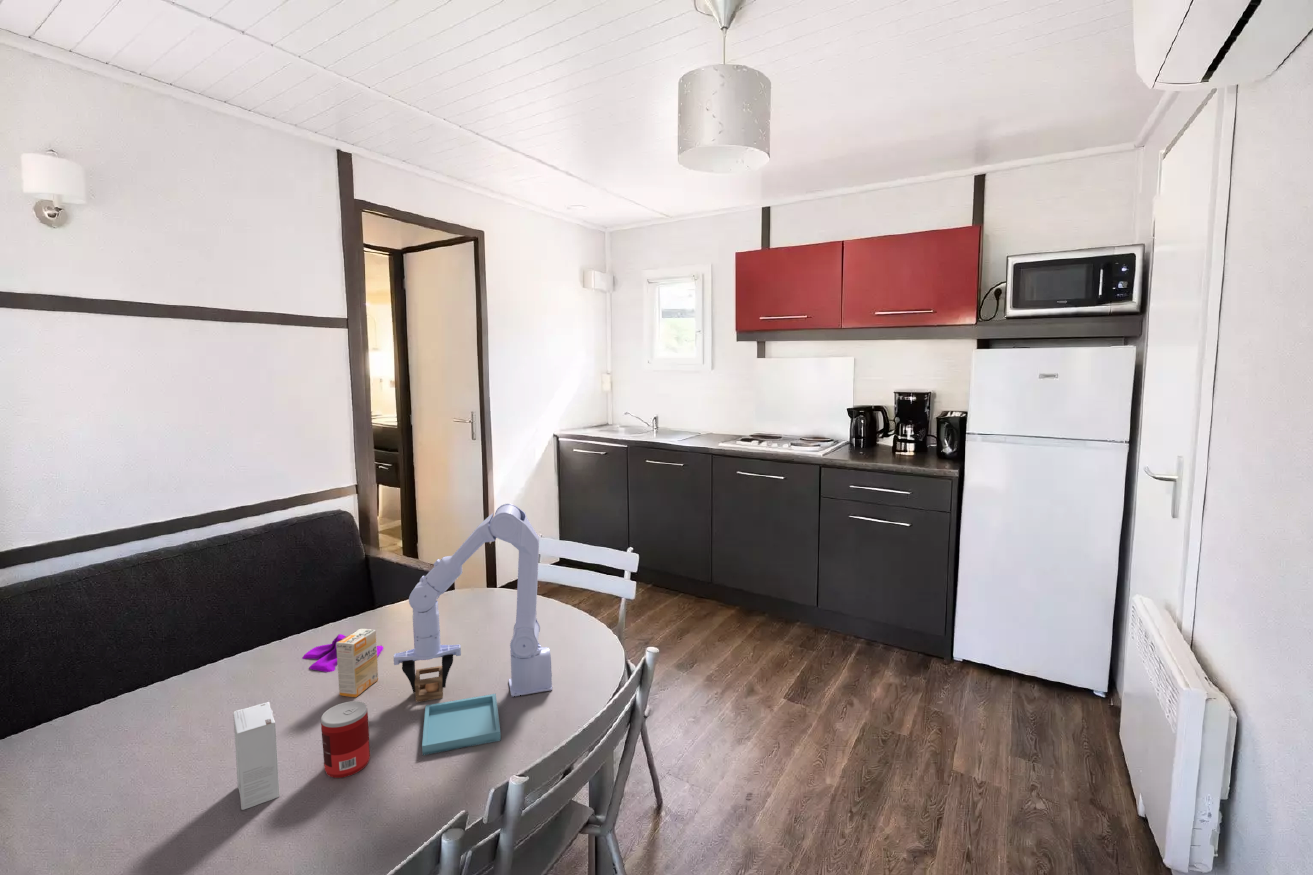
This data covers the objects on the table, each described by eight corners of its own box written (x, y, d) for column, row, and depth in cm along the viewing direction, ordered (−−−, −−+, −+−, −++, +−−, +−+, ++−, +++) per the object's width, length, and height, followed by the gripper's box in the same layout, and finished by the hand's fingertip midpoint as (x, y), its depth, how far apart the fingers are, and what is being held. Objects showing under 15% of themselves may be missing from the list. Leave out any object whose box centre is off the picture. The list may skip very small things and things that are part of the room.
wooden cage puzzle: (443, 685, 145) (442, 665, 144) (442, 697, 139) (441, 677, 139) (417, 689, 143) (416, 669, 142) (415, 702, 138) (414, 681, 137)
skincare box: (237, 786, 110) (230, 710, 108) (275, 772, 114) (269, 699, 112) (241, 813, 104) (234, 732, 102) (282, 797, 108) (275, 719, 106)
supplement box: (356, 698, 139) (353, 644, 138) (338, 696, 140) (334, 642, 139) (379, 679, 147) (376, 629, 146) (362, 677, 148) (359, 627, 147)
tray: (496, 701, 138) (495, 693, 137) (500, 740, 124) (500, 731, 123) (426, 713, 133) (425, 705, 133) (422, 755, 119) (422, 746, 119)
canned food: (379, 756, 119) (376, 704, 117) (346, 783, 111) (342, 727, 110) (349, 748, 121) (345, 697, 120) (315, 774, 114) (311, 719, 112)
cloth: (393, 657, 160) (392, 635, 159) (316, 682, 147) (314, 658, 146) (365, 630, 176) (364, 610, 175) (293, 651, 163) (291, 629, 162)
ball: (436, 686, 143) (441, 677, 142) (435, 696, 140) (439, 687, 139) (424, 684, 142) (428, 675, 141) (422, 694, 139) (426, 685, 138)
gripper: (459, 621, 145) (461, 674, 147) (394, 629, 141) (397, 684, 142) (459, 633, 139) (462, 689, 140) (391, 642, 134) (394, 700, 136)
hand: (429, 687), depth 141 cm, fingers closed on wooden cage puzzle, 6 cm apart
